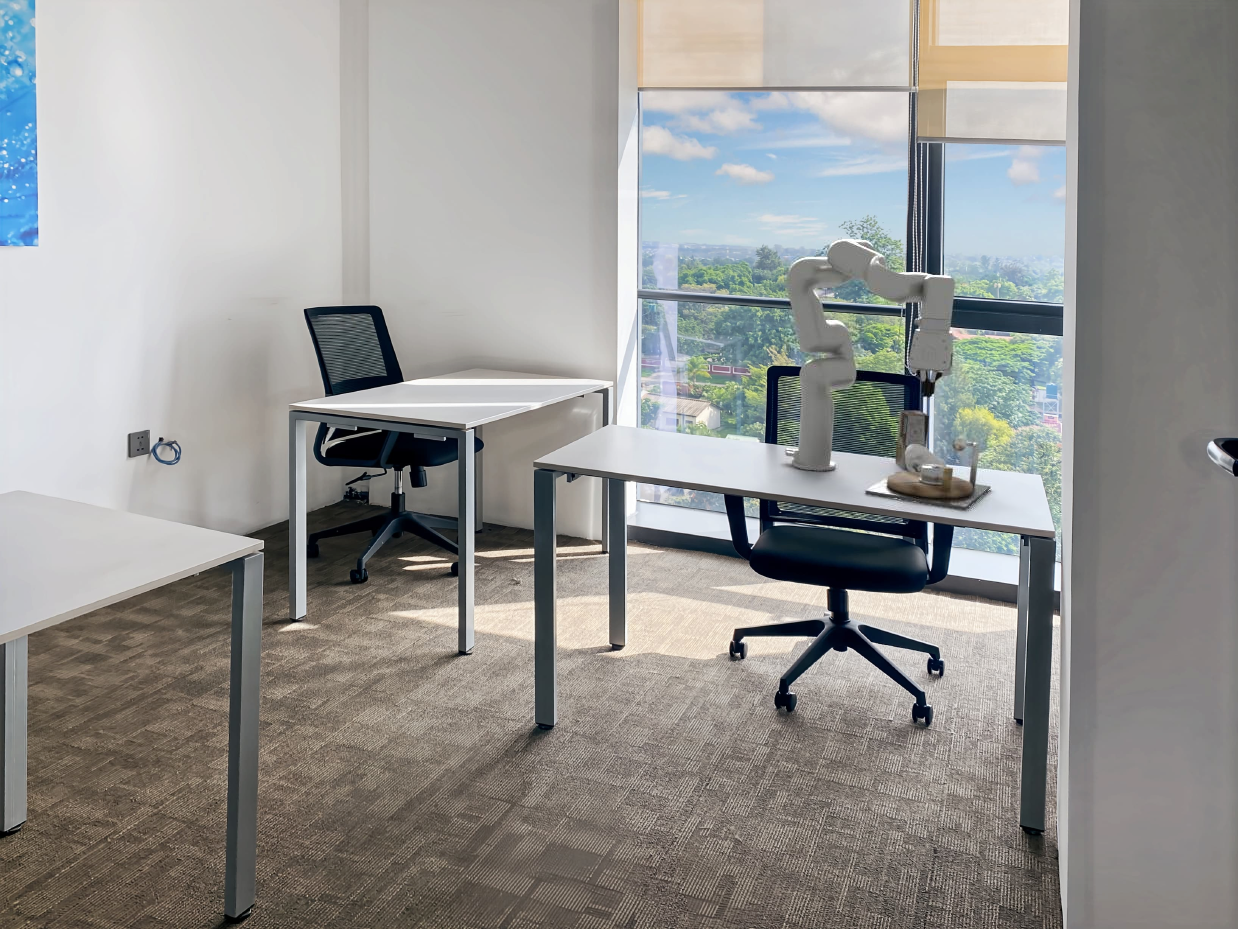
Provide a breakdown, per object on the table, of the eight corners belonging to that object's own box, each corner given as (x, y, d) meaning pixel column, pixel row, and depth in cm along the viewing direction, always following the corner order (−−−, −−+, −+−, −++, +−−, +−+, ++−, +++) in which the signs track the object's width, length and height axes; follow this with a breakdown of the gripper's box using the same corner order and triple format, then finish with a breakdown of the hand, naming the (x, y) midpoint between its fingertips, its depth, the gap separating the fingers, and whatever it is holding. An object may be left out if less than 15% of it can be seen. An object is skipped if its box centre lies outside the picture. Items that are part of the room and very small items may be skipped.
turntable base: (865, 494, 275) (869, 441, 272) (896, 475, 296) (900, 425, 293) (965, 510, 262) (971, 455, 258) (990, 489, 283) (996, 438, 280)
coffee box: (924, 470, 304) (930, 415, 300) (902, 469, 304) (907, 415, 300) (915, 462, 312) (920, 410, 309) (894, 462, 312) (899, 409, 309)
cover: (926, 485, 274) (928, 470, 273) (914, 478, 282) (915, 463, 281) (954, 485, 275) (956, 470, 274) (941, 477, 283) (942, 463, 282)
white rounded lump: (905, 440, 301) (947, 446, 300) (899, 469, 303) (941, 475, 302) (909, 445, 294) (952, 451, 294) (903, 474, 296) (946, 480, 296)
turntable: (909, 498, 266) (911, 470, 264) (873, 477, 287) (875, 451, 285) (988, 497, 270) (991, 469, 268) (947, 476, 291) (950, 450, 289)
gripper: (901, 323, 265) (894, 394, 269) (960, 329, 257) (952, 402, 262) (910, 321, 271) (903, 391, 275) (968, 326, 263) (960, 398, 268)
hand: (927, 396), depth 268 cm, fingers closed
